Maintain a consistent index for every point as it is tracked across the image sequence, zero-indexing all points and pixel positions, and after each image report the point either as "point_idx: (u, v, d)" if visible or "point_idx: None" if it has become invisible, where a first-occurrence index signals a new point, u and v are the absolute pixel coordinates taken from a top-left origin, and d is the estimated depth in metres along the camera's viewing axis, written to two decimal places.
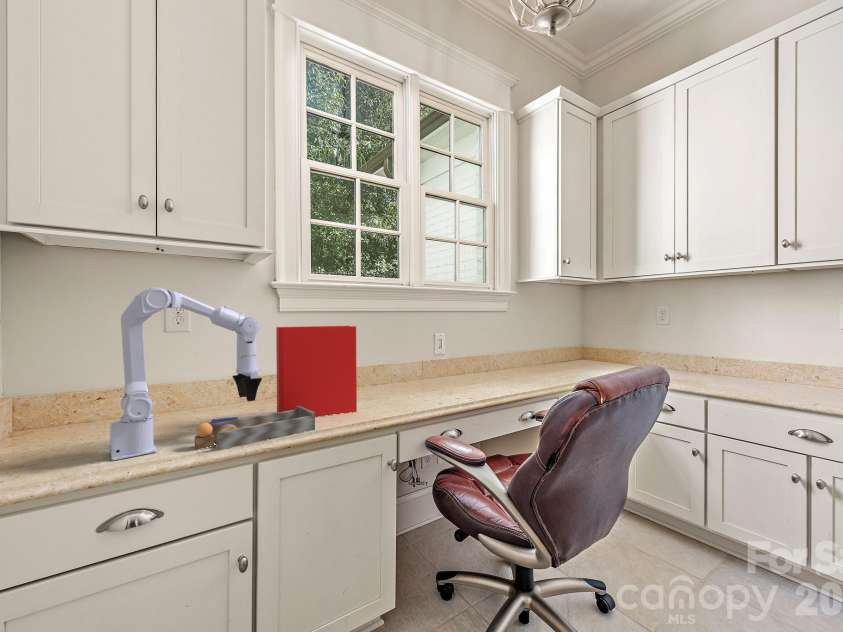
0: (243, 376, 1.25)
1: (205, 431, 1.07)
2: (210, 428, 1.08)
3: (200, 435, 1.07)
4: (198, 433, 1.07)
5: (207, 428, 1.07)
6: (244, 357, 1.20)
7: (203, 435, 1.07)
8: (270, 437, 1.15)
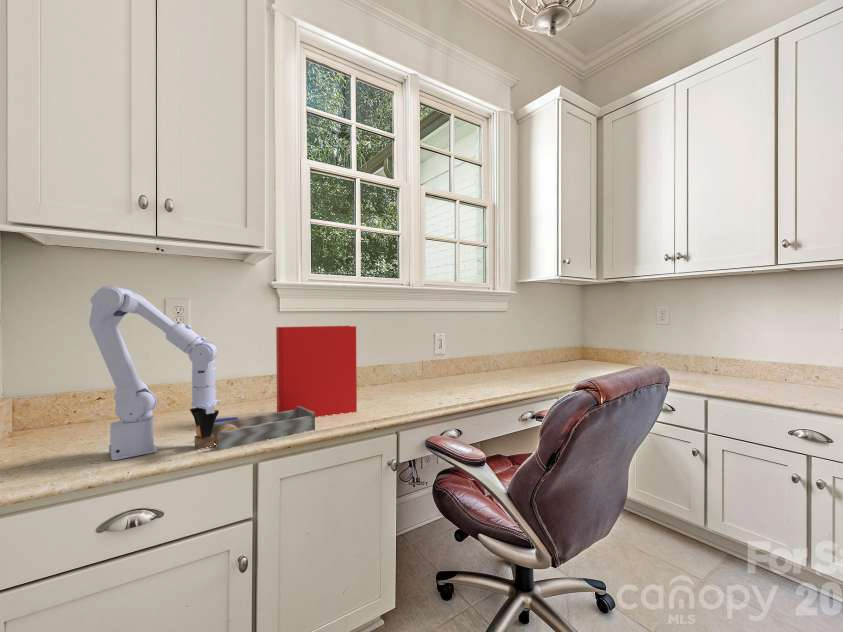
0: (202, 409, 1.10)
1: None
2: None
3: (200, 435, 1.07)
4: (198, 433, 1.07)
5: None
6: (200, 388, 1.05)
7: None
8: (270, 437, 1.15)
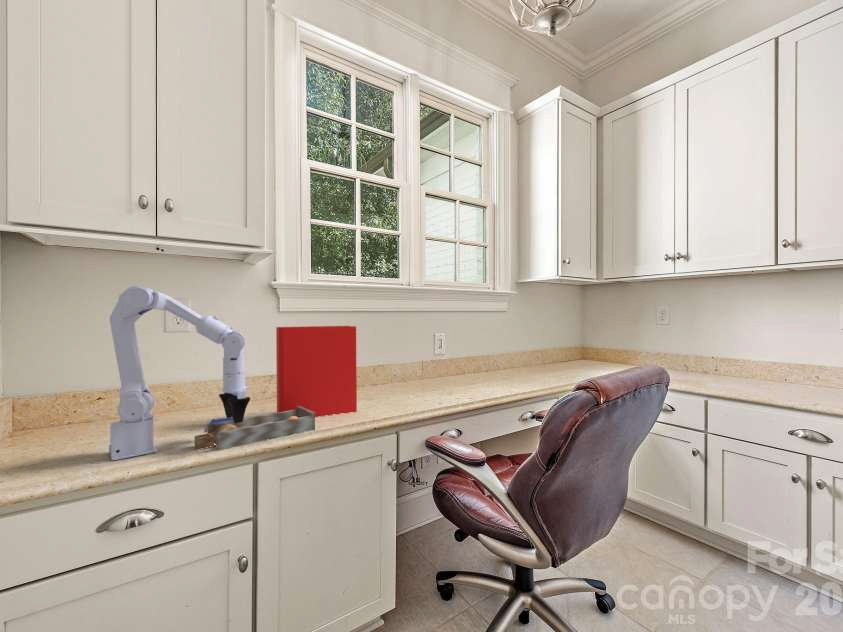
0: (230, 395, 1.16)
1: None
2: None
3: None
4: None
5: None
6: (231, 375, 1.11)
7: None
8: (270, 437, 1.15)
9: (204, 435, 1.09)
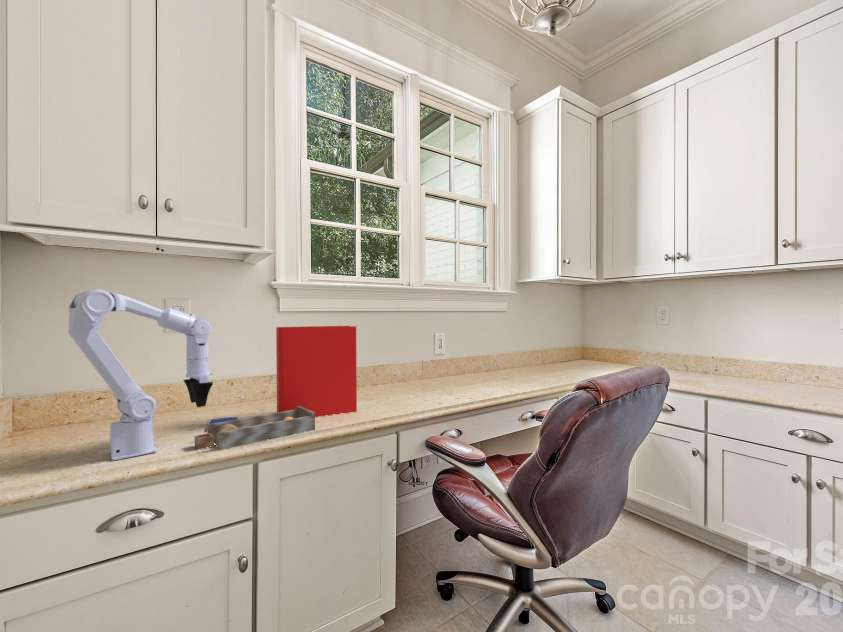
0: (195, 380, 1.19)
1: None
2: None
3: None
4: None
5: None
6: (194, 360, 1.13)
7: None
8: (270, 437, 1.15)
9: (204, 435, 1.09)
